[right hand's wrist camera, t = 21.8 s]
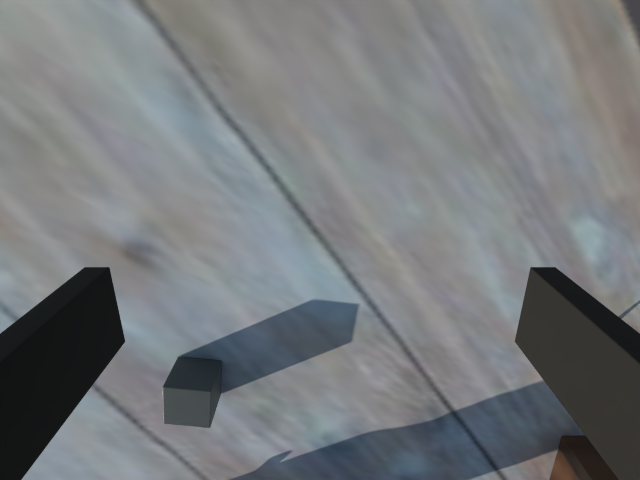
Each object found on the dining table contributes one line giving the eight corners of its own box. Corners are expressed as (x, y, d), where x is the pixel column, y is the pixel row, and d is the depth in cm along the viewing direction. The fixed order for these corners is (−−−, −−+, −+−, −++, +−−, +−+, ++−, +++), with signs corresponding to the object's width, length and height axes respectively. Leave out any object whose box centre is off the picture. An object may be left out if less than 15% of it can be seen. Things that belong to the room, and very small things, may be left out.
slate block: (178, 356, 46) (162, 387, 41) (222, 360, 46) (211, 391, 41) (178, 390, 48) (163, 423, 43) (220, 394, 48) (210, 428, 43)
